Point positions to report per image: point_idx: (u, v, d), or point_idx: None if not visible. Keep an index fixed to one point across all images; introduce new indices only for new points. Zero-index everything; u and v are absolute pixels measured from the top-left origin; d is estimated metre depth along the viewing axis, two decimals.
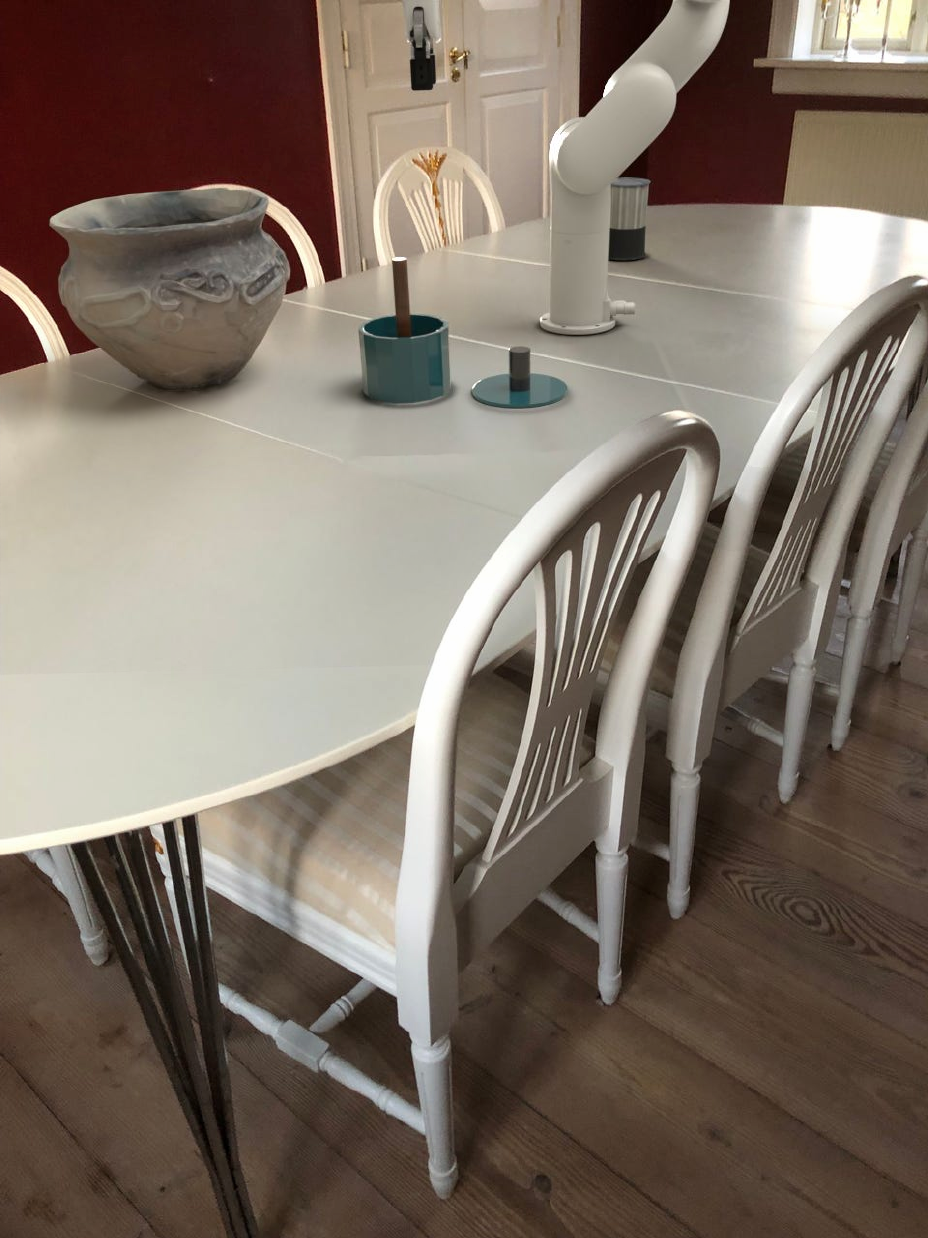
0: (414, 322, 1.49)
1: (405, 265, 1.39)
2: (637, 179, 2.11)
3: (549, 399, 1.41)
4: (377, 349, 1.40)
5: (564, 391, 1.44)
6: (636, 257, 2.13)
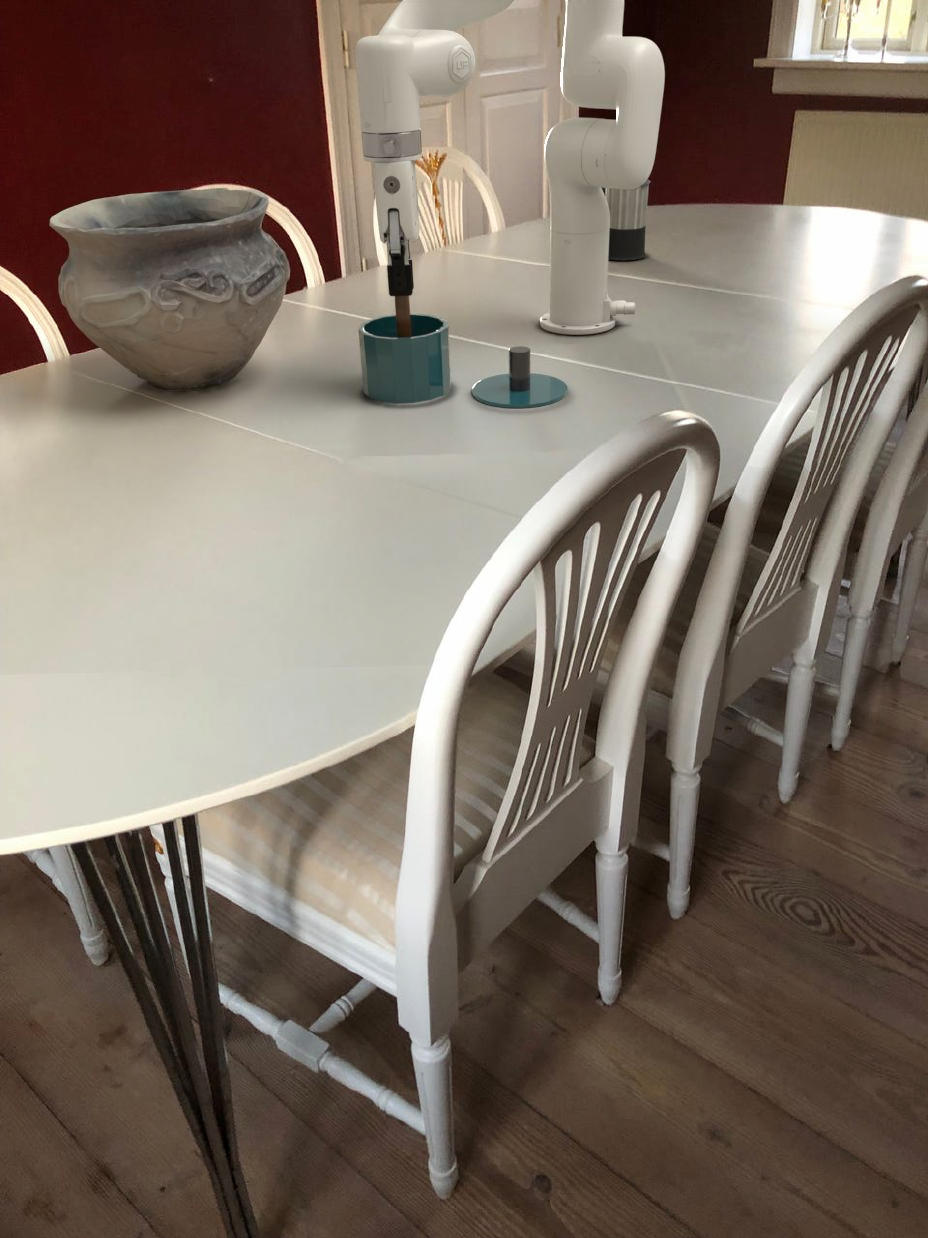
0: (414, 322, 1.49)
1: None
2: None
3: (549, 399, 1.41)
4: (377, 349, 1.40)
5: (564, 391, 1.44)
6: (636, 257, 2.13)
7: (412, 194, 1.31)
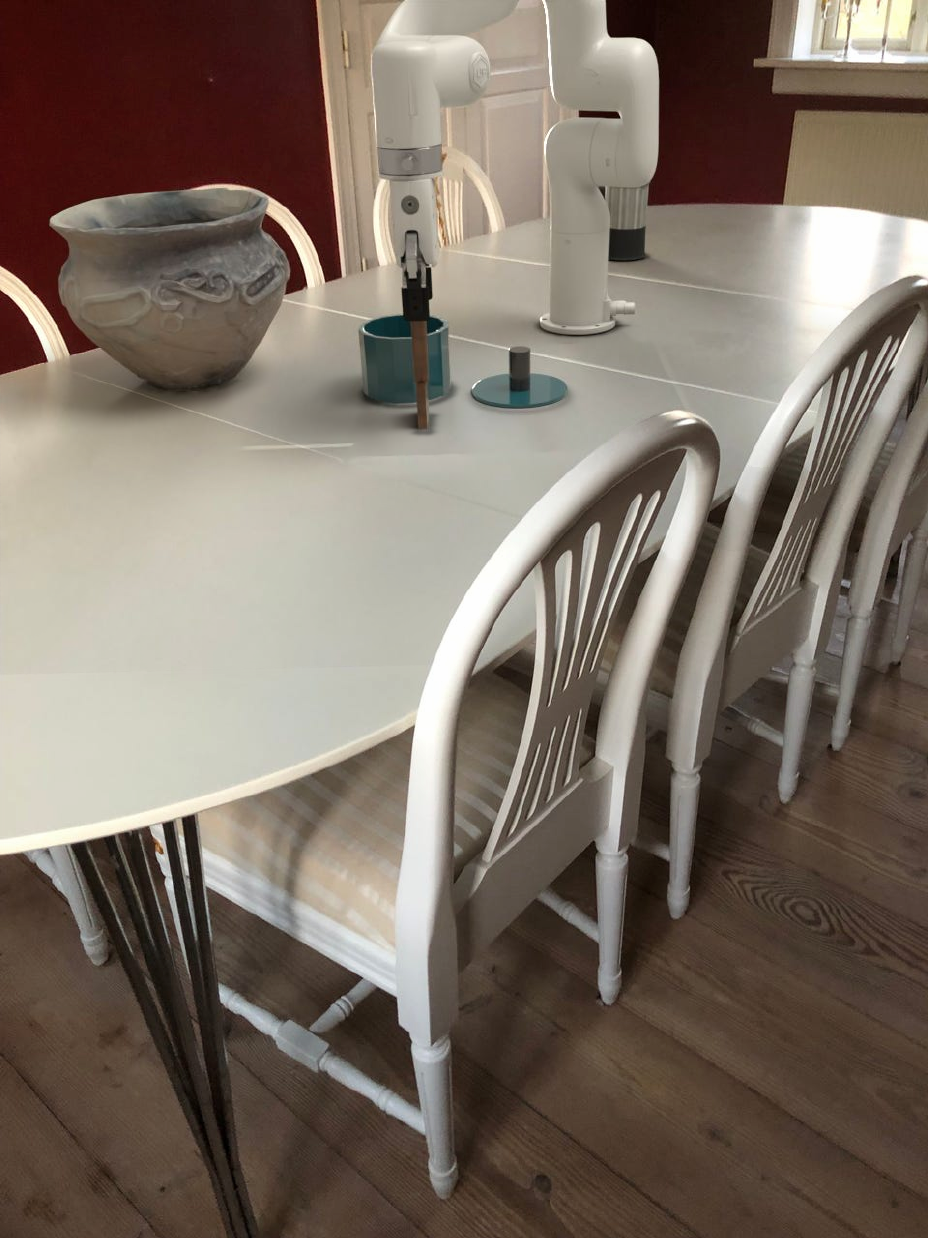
0: None
1: None
2: None
3: (549, 399, 1.41)
4: (377, 349, 1.40)
5: (564, 391, 1.44)
6: (636, 257, 2.13)
7: (432, 215, 1.20)
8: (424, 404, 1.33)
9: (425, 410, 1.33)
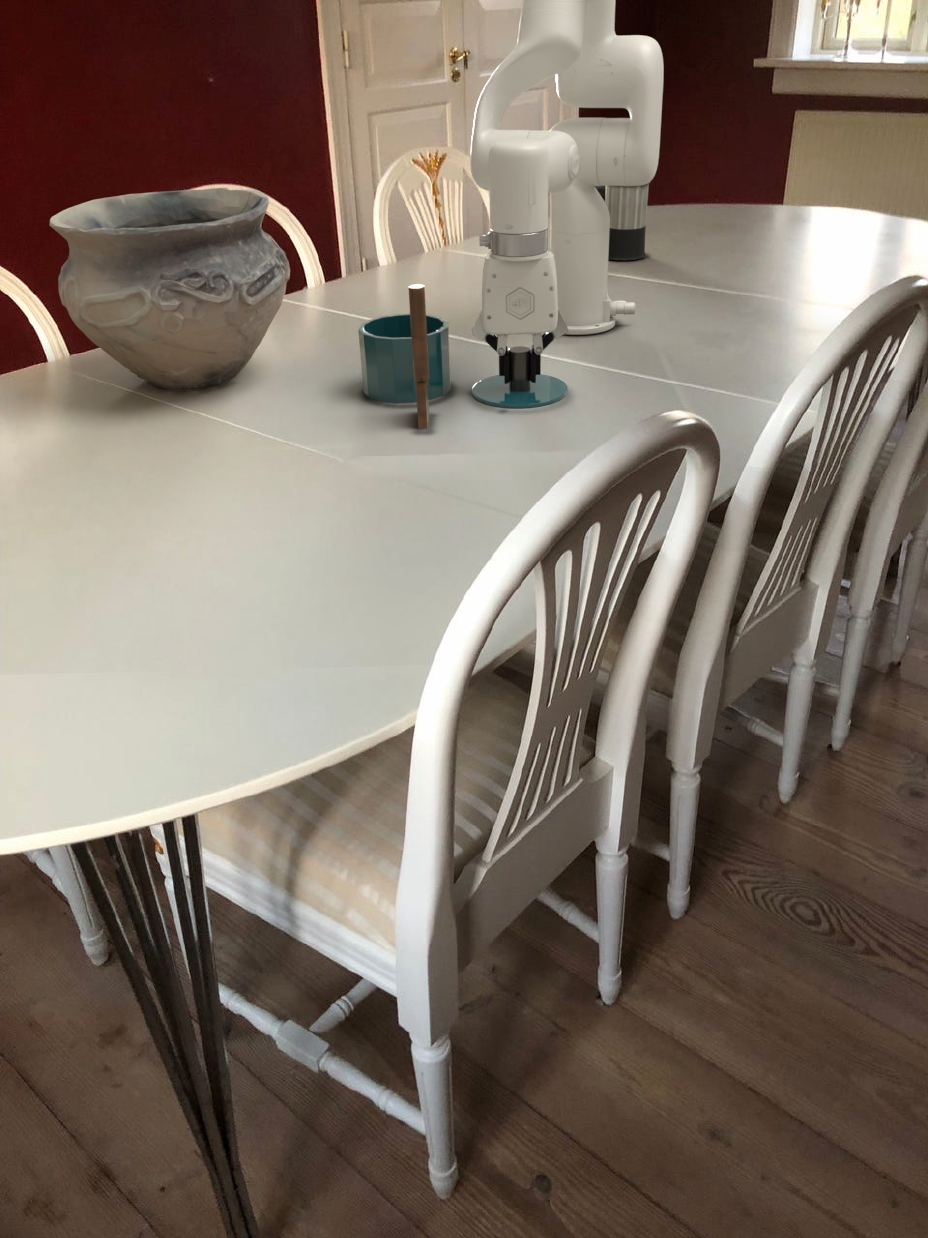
0: None
1: (423, 293, 1.28)
2: None
3: (549, 399, 1.41)
4: (377, 349, 1.40)
5: (564, 391, 1.44)
6: (636, 257, 2.13)
7: (487, 289, 1.36)
8: (424, 404, 1.33)
9: (425, 410, 1.33)
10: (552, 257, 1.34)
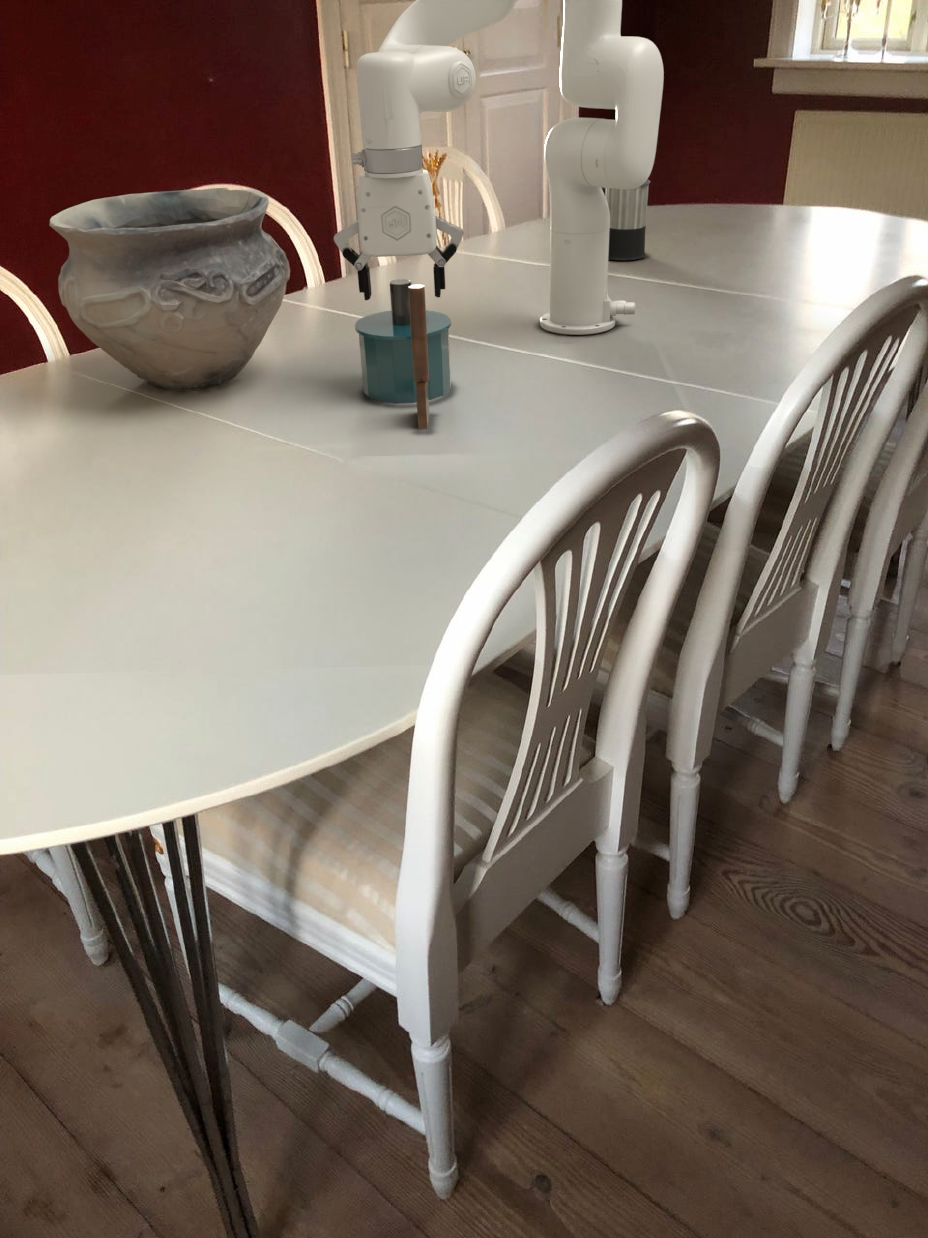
0: None
1: (423, 293, 1.28)
2: None
3: (430, 331, 1.39)
4: (377, 349, 1.40)
5: (446, 324, 1.42)
6: (636, 257, 2.13)
7: (362, 209, 1.34)
8: (424, 404, 1.33)
9: (425, 410, 1.33)
10: (426, 175, 1.32)
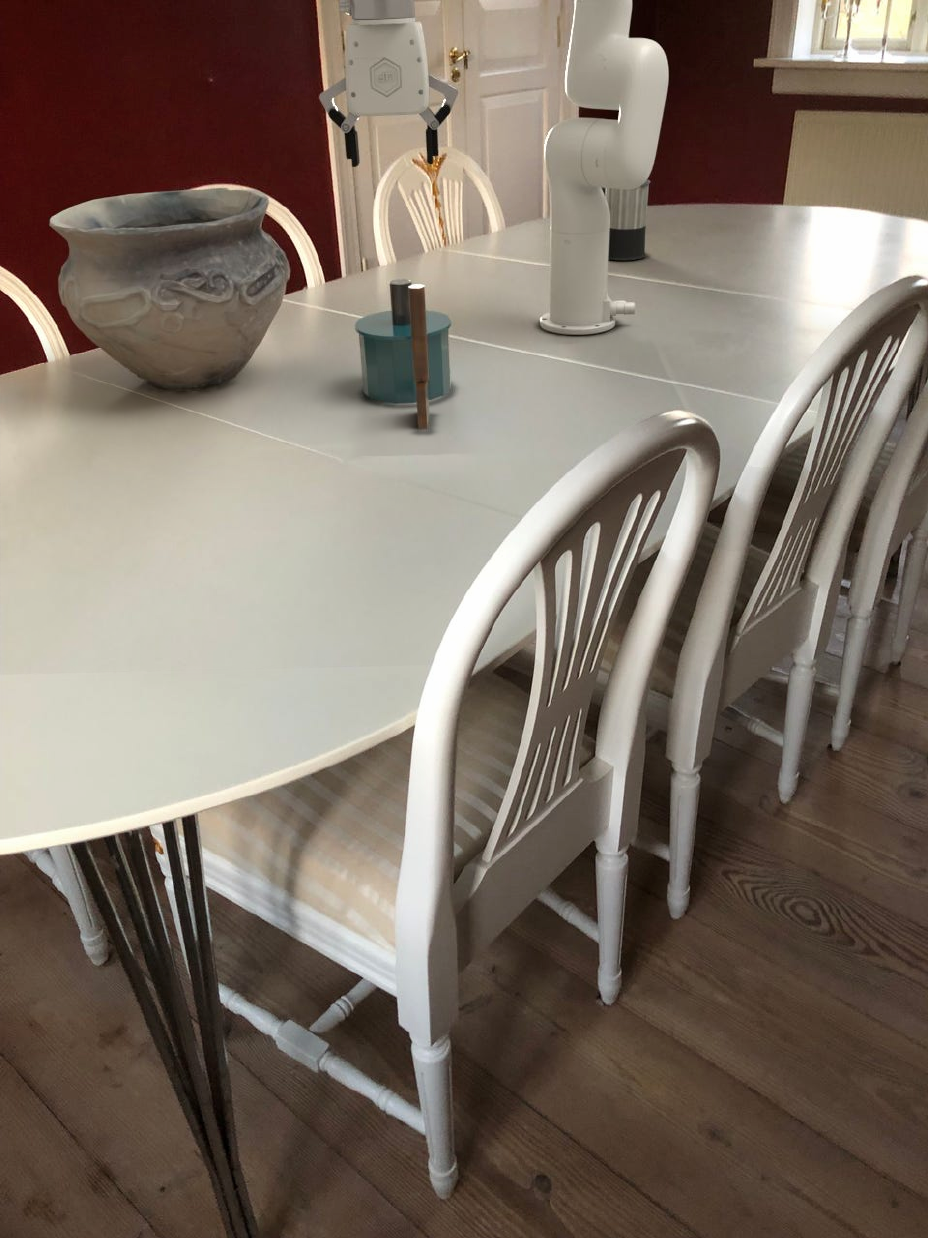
0: None
1: (423, 293, 1.28)
2: None
3: (430, 331, 1.39)
4: (377, 349, 1.40)
5: (446, 324, 1.42)
6: (636, 257, 2.13)
7: (349, 61, 1.25)
8: (424, 404, 1.33)
9: (425, 410, 1.33)
10: (419, 23, 1.23)
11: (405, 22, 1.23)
